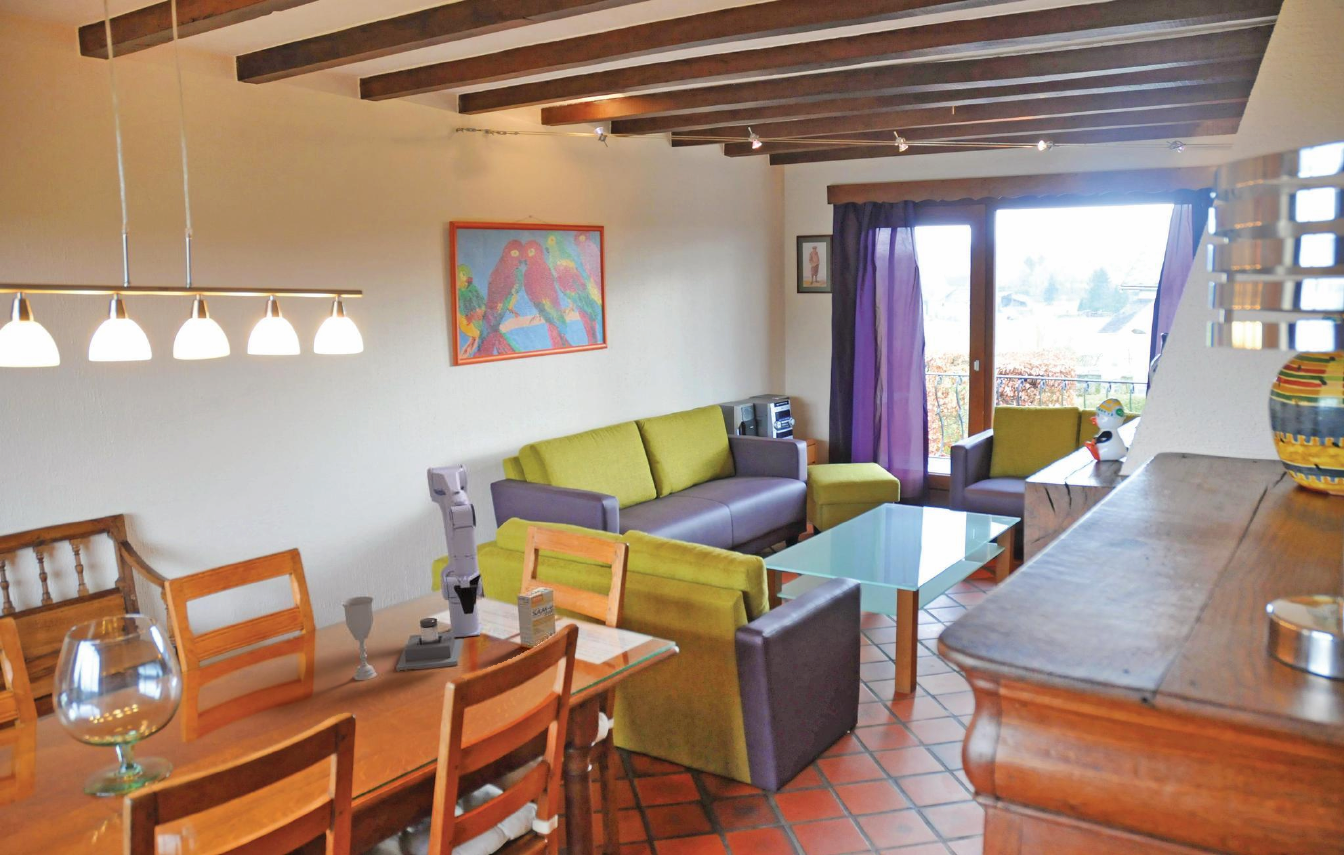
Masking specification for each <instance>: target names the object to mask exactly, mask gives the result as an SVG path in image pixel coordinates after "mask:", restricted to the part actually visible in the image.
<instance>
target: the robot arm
mask: <svg viewBox="0 0 1344 855" xmlns="http://www.w3.org/2000/svg"><path fill="white" fill-rule="evenodd" d="M426 477H427V478H426V479H427V484H428V485H427V486H428V490H429V491H428V492H429V496H430V498H431V502H434V503H436V504H437V505H438V506H439V508H440V511H441V514H442V520H443V527H444V535H445V536H444V537H445V541H446V542H445V543H446V548H447V554H448V563H447V564H446V565H445V566H444V567H443V568H442V569H441V570H440V574H439V575H440V576H439V577H440V586H441V588H440V589H441V595H442V598H443V600H444V601H447V602H448V612H449V620H450V629H449V632H453V631H454V639H455V638H462V637H463V638H464V637H472V636H480V635H481V632H482V628H483V621H480V618H479V607H478V599H479V596H480V595H481V594H482V592H483V586H482V585H483V584H482V578H481V576H482V575H481V573H480V569H479V563H478V562H479V560H478V550H477V540H476V539H477V538H476V527H477V513H476V508H475V506H474V503H471V502H470V501H469V497H468V494H467V492H468V471H467V468H466V466H465V464H464V463H461V464H454V465H445V466H438V467H428V469H427V471H426Z"/></svg>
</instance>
